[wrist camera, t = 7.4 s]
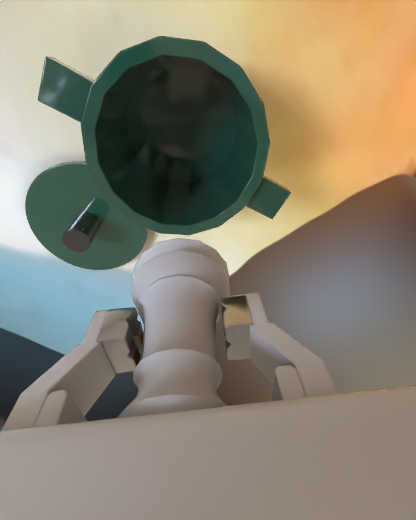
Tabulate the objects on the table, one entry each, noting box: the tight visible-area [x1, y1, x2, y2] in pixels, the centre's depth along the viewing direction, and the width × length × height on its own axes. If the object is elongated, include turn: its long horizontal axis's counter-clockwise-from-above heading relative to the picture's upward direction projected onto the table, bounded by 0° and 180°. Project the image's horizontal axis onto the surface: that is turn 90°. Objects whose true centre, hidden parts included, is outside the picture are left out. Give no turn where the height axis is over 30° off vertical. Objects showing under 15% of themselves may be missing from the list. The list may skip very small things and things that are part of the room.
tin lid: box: [25, 162, 148, 270], centre depth 29 cm, size 13×13×5 cm
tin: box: [38, 36, 291, 235], centre depth 22 cm, size 12×17×10 cm
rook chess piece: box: [118, 238, 230, 418], centre depth 10 cm, size 4×4×8 cm
